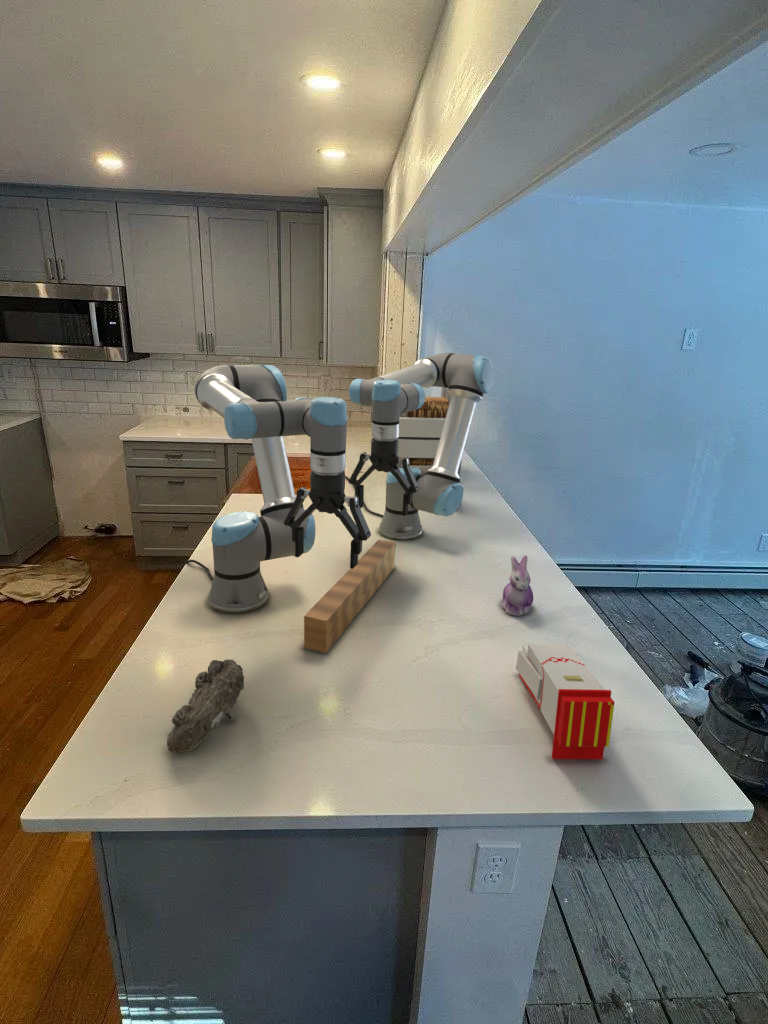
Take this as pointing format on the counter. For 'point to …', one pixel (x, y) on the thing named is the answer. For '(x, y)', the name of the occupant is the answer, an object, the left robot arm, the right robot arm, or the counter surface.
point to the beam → (347, 597)
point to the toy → (568, 700)
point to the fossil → (206, 705)
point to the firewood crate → (423, 431)
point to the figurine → (518, 589)
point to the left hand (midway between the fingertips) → (326, 560)
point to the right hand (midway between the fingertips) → (382, 511)
